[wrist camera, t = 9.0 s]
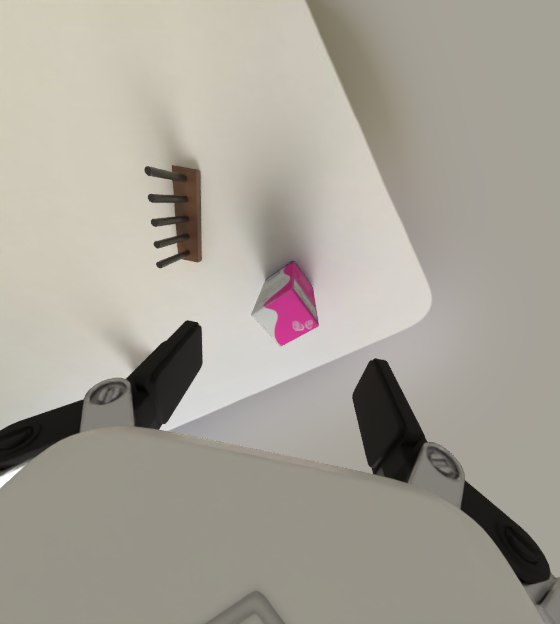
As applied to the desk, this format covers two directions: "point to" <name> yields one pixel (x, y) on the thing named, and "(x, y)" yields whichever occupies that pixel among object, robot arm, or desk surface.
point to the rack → (180, 213)
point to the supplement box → (286, 305)
